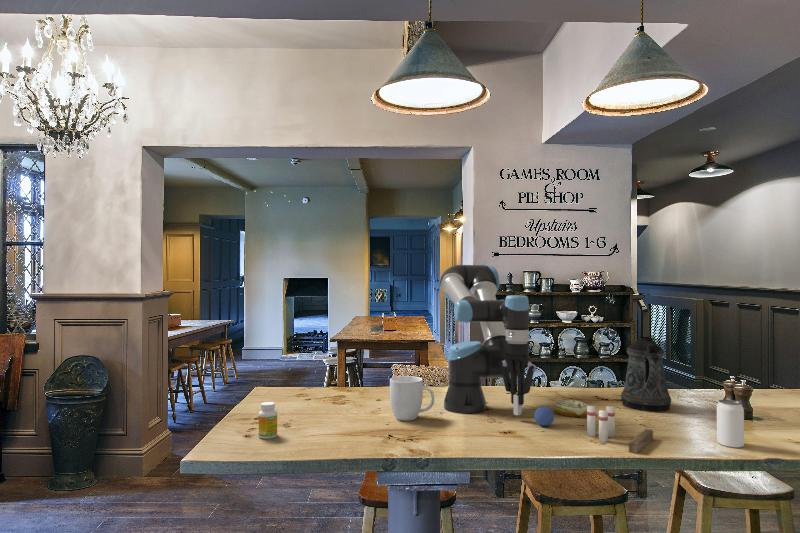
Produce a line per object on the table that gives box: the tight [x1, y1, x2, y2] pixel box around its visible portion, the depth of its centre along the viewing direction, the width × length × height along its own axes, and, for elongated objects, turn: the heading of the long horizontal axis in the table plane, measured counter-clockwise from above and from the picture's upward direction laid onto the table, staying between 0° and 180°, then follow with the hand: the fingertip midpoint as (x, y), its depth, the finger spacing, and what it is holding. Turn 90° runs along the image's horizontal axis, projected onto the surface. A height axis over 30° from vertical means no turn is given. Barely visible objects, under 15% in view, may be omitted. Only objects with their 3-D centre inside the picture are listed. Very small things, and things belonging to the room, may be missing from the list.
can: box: [716, 399, 745, 449], centre depth 147 cm, size 6×6×12 cm
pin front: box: [586, 405, 597, 437], centre depth 155 cm, size 2×2×8 cm
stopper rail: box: [628, 428, 654, 455], centre depth 146 cm, size 2×16×2 cm, turn 140°
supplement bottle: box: [258, 401, 278, 440], centre depth 154 cm, size 5×5×10 cm
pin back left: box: [605, 405, 616, 438], centre depth 154 cm, size 2×2×8 cm
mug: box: [389, 375, 435, 422], centre depth 173 cm, size 15×11×13 cm
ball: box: [534, 405, 555, 427], centre depth 165 cm, size 6×6×6 cm
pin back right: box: [598, 409, 609, 443], centre depth 150 cm, size 2×2×8 cm
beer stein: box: [620, 336, 672, 413], centre depth 188 cm, size 16×19×25 cm
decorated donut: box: [553, 399, 590, 418], centre depth 179 cm, size 11×12×4 cm
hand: (517, 414), depth 170 cm, fingers closed
